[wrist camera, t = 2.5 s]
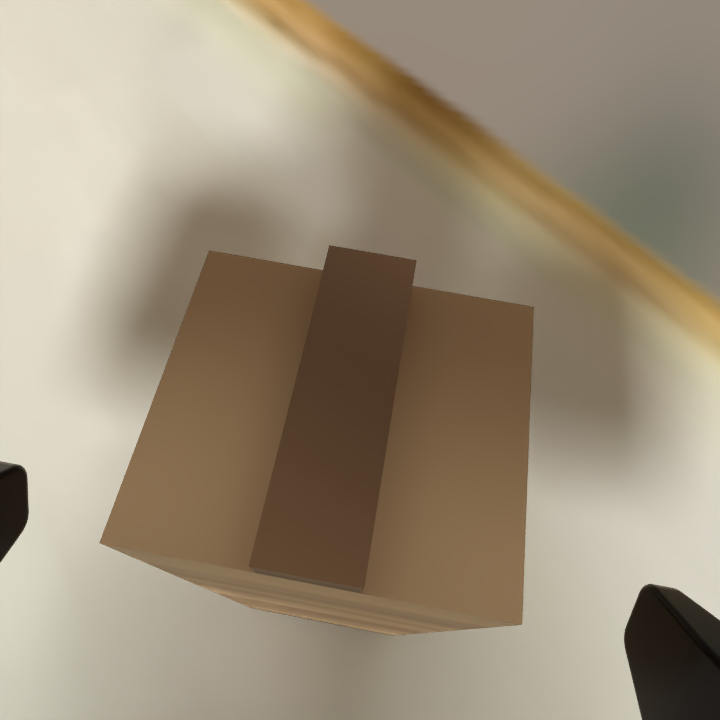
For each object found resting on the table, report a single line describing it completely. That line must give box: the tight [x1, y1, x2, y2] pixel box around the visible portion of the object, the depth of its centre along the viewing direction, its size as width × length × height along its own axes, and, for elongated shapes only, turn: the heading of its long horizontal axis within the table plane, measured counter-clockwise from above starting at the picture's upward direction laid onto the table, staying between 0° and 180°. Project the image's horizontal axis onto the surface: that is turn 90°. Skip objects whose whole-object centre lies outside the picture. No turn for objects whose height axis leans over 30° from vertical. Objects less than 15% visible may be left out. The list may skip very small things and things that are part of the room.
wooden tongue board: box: [100, 245, 534, 635], centre depth 11 cm, size 4×4×12 cm
